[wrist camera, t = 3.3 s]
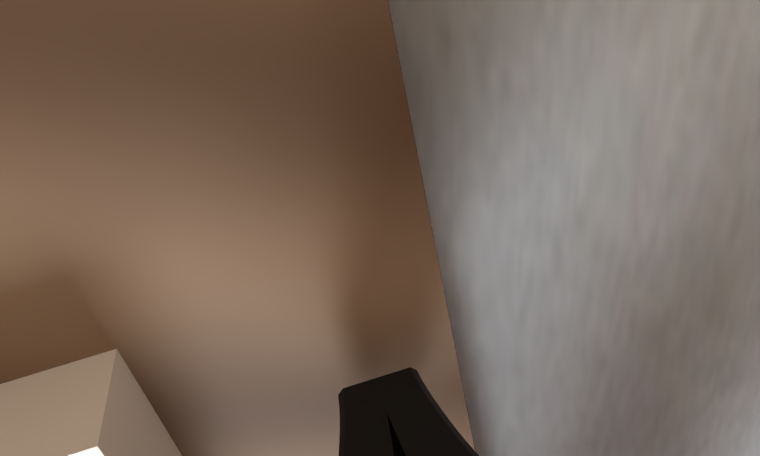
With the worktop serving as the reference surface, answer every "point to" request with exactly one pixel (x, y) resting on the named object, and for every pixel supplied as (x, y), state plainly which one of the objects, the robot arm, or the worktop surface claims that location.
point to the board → (218, 212)
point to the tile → (81, 413)
